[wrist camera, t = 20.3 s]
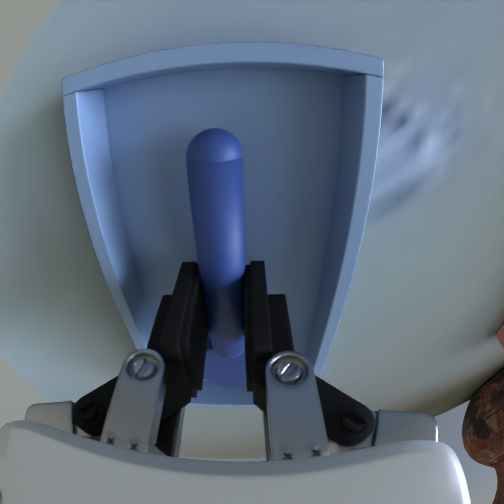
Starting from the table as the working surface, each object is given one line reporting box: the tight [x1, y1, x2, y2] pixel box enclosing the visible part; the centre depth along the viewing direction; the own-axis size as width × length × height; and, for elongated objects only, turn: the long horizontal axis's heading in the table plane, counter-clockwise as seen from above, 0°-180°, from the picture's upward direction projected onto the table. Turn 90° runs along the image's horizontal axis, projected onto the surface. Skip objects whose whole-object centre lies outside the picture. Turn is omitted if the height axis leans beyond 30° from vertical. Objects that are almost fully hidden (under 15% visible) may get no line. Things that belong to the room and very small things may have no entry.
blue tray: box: [62, 42, 384, 408], centre depth 11 cm, size 18×9×2 cm, turn 0°
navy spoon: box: [186, 128, 246, 386], centre depth 10 cm, size 13×4×2 cm, turn 0°
